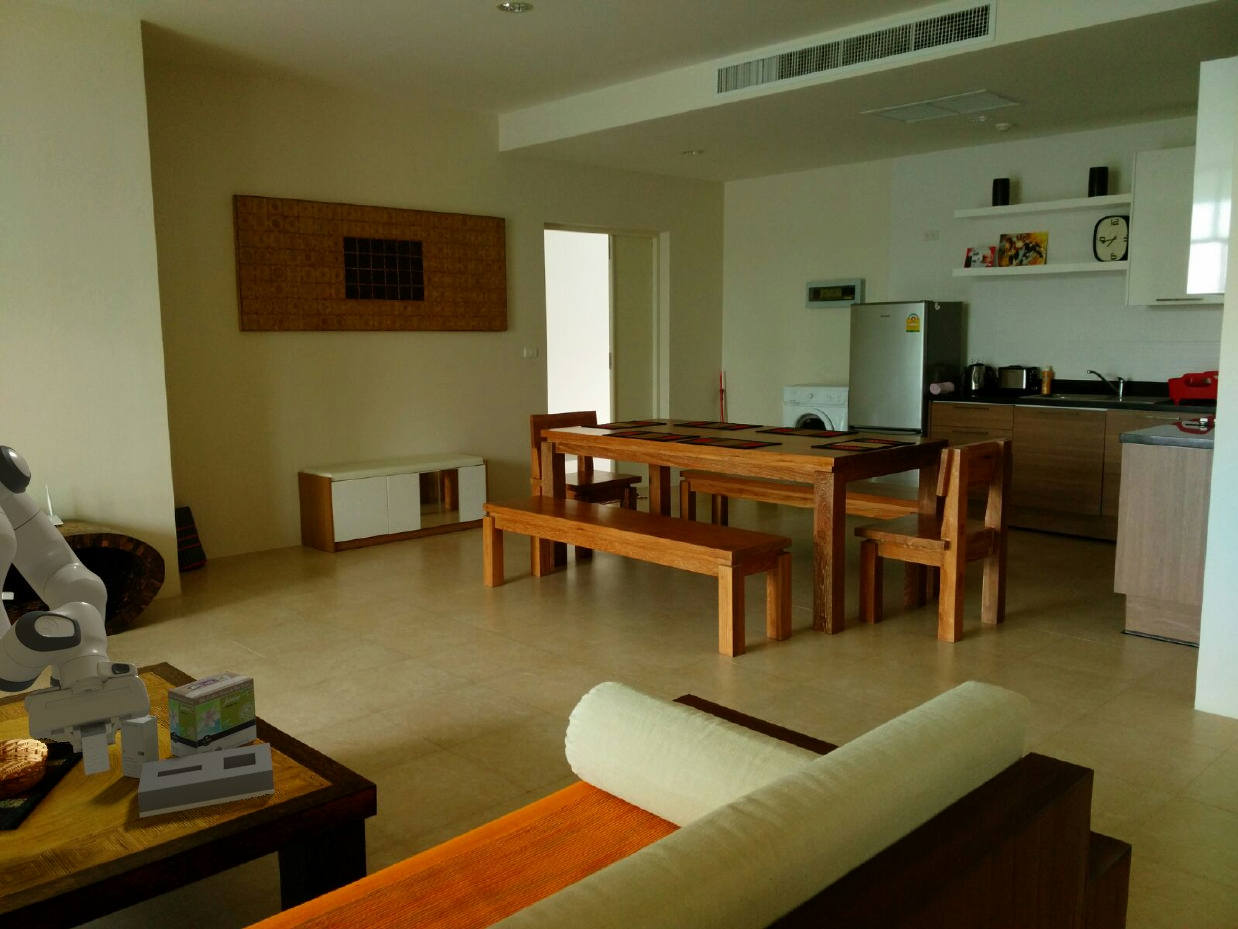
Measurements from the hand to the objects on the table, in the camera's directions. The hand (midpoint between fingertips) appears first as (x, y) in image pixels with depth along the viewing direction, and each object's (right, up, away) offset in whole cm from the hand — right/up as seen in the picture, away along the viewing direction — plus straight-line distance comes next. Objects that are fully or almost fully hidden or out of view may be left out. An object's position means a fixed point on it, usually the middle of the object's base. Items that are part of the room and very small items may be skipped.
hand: (94, 747), depth 181 cm
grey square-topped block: (0, -4, +1) cm, 4 cm away
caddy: (+15, -13, +15) cm, 25 cm away
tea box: (+8, -10, +35) cm, 38 cm away
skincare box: (-2, -12, +23) cm, 26 cm away
